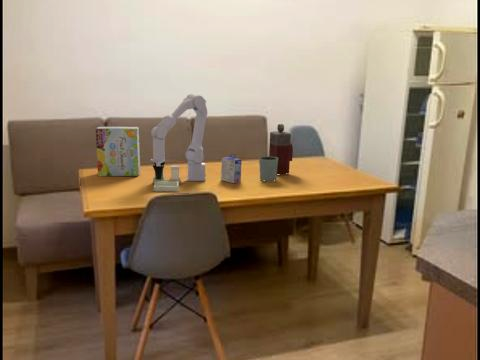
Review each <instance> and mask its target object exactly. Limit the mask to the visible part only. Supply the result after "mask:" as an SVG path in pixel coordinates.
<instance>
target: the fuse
mask: <svg viewBox="0 0 480 360" xmlns="http://www.w3.org/2000/svg"><path fill="white" fill-rule="evenodd" d="M170 168H171V169H170V177H171V179H179V177H180V165H171V166H170Z"/></svg>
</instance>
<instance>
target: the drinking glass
mask: <svg viewBox="0 0 480 360" xmlns="http://www.w3.org/2000/svg"><path fill="white" fill-rule="evenodd" d="M258 162H259V180H260V179H261V180H265V181H274V180H276V181H277V177H278V175H277V164H278V158H277V157H271V156H269V155H268V156H267V155H266V156H260V157H258ZM261 180H260V181H261ZM265 181H264V182H265ZM274 182H275V181H274Z"/></svg>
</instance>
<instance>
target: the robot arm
mask: <svg viewBox="0 0 480 360" xmlns="http://www.w3.org/2000/svg"><path fill="white" fill-rule="evenodd" d="M206 103H207V100H206V99H205V97H203V96H202V95H200V94H199V95H196V94H193V93H190V94H187V96H186V97H185V98H183V100H182V102H181V103H180V104H179V105H178V106H177V108H176V109H175V110H174V111H173V112H172V114H170V115H166V116H164V117H163V119H162V120H161V122H159V123H158V124H157V125H156V126H154V127H152V129H151V131H150V135H151V137H152V157H153V158H151V159H150V161H151V162H153V164H152V167H153V171H154V175H155V174H156V178H157V179H161V177H162V171H163V172H164V168H165V163H166V159H165V158H166V153H165V152H166V151H165V148H166V147H165V145H166V143H165V138H166V137H167V135H168V132H169V131H170V130H171V129H172V128H173V127H174V126H175V125H176V123H177V120H178V119H179V118H180V117H181V116H182V115H183V114H184V113H186V111H187V110H193V111H194V112H195V114H196V116H195V121H194V127H193V131H192V137H191V142H190V144H189V145H188V147H187V150H186V152H185V155H184V156H185V158H186V160H187V176H186V181H188V182H193V181H194V182H206V176H207V175H206V163H205V162H203V161H204V159H205V154H204V148H203V146H202V145H203V140H204V133H205V128H206V122H207V116H208V109H207V104H206Z"/></svg>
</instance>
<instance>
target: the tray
mask: <svg viewBox="0 0 480 360" xmlns="http://www.w3.org/2000/svg"><path fill="white" fill-rule="evenodd" d="M179 187H180V185H179V181H155V184H154V185H153V192H179Z"/></svg>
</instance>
